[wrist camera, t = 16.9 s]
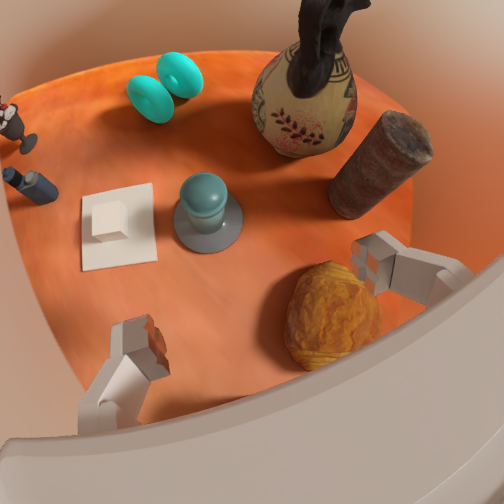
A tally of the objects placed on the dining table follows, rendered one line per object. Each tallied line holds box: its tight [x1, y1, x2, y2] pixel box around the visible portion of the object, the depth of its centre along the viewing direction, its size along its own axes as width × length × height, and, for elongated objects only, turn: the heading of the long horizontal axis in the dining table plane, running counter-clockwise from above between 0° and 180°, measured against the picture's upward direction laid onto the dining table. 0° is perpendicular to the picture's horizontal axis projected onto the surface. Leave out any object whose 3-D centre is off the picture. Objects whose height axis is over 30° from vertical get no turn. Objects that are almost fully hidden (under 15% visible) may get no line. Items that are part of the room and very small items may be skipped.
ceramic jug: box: [252, 0, 371, 176], centre depth 31 cm, size 17×15×30 cm
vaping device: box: [2, 167, 59, 205], centre depth 34 cm, size 3×5×12 cm, turn 102°
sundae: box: [0, 96, 37, 154], centre depth 34 cm, size 7×7×15 cm
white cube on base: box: [82, 183, 157, 272], centre depth 37 cm, size 12×12×5 cm
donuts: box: [127, 52, 203, 123], centre depth 40 cm, size 10×10×10 cm
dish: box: [173, 191, 243, 254], centre depth 41 cm, size 10×10×1 cm
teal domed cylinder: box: [180, 172, 227, 234], centre depth 36 cm, size 5×5×9 cm
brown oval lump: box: [284, 260, 383, 372], centre depth 37 cm, size 14×16×8 cm
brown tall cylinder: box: [328, 110, 434, 220], centre depth 34 cm, size 8×7×20 cm
